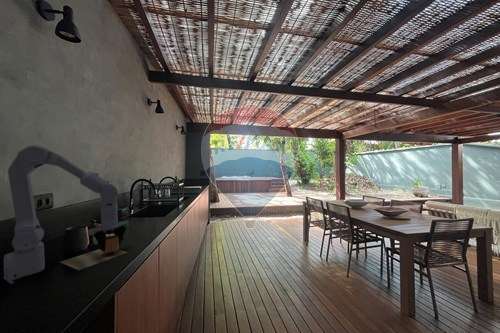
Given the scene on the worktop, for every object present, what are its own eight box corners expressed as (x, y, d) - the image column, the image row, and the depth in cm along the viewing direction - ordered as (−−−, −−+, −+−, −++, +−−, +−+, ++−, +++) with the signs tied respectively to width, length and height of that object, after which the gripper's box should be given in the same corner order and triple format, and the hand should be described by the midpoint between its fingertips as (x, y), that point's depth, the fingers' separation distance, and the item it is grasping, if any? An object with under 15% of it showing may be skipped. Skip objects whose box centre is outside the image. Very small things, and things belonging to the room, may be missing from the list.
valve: (92, 248, 98) (123, 242, 105) (92, 233, 98) (122, 228, 105) (92, 244, 103) (122, 238, 110) (92, 230, 103) (121, 225, 110)
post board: (78, 273, 74) (78, 256, 74) (59, 264, 81) (59, 249, 81) (127, 254, 89) (127, 241, 89) (107, 248, 96) (107, 236, 96)
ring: (107, 253, 84) (106, 240, 84) (99, 251, 87) (99, 238, 87) (121, 248, 89) (121, 236, 89) (114, 246, 92) (113, 234, 92)
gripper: (94, 219, 80) (95, 256, 79) (132, 211, 92) (133, 243, 92) (85, 217, 83) (86, 253, 83) (123, 210, 96) (124, 241, 96)
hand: (110, 247), depth 88 cm, fingers closed on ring, 5 cm apart
